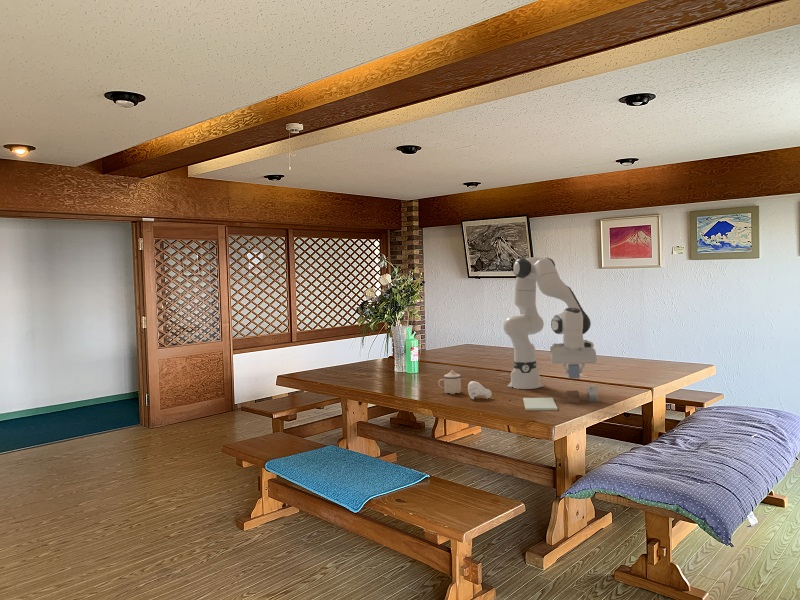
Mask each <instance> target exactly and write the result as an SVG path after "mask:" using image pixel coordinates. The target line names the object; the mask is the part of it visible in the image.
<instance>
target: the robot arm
mask: <svg viewBox="0 0 800 600" xmlns="http://www.w3.org/2000/svg"><path fill="white" fill-rule="evenodd" d="M512 267H513V269H512V271H513V274H514V275H515V276H516V279H515V284H514V285H515V286H514V301H513V302H514V305H515V306H516V307H517V308H518V309H519V313H520V314H519V315H513V316H511V317H508V318H506V319H505V320H504V322H503V331H504V333H505V335H507V336H508V337H509V339H510V341H511V342H512V345H513V346H512V347H513V353H514V354H513V355H514V358H513V359H514V360H513V370H512V371H511V373H510V383H508V384H507V388H512V387H513V389H517V390H533V389H538V388H543V387H544V384H542V383H541V381H540V380H541V379H540V378H541V377H540V371H539V370H538V369H537V360H536V348H535V345H534V344H533V343H532V342H531V341H530V339H529V335H530V336H531V335H535V334H538V333H541V331H543V329H544V327H545V326H544V325H545V324H544V320H543V318H542V316H540V314H539V313H538V309H537V301H536V300H537V298H536V297H537V288H539V291H541V293H542V294H543V295H545V296H547V297H551V298H554V299H557V300H560V301H562V302H564V303H565V304H566V306H567V308H565V309H564V310H563V311H562V312H561V313H559V314H555V315H554V316H553V317H552V319H551V321H550V326H551V331H553V333H555V334H556V335H563V337H562V339H563V342H561V343H553V344H551V345H550V347H549V349H550V351H549V352H550V353H551V355H550V361H551V364H553V365H554V364H556V365H557V364H559V365H560V364H562V367H563V369H564V371H565V372H564V373H565V374H568V373H569V369H568V367H567V365H568V364H580V366H581V367H579V372H580V374H582V373H583V369H584V368H585V364H596V363H597V361H598V359H597V352H596V351H597V350H596V349H595V348H594V345H595V344H594V343H593V341H590V340H587V339H584V335H585V334H586V333H588V331H589V330H590V328H591V326H592V325H591V324H592V323H591V320H590V317H589V316H588V314H587V313H586V312H585V311H584V309H583V307H582V305H581V304H580V301H579V300H578V298H577V297H576V295H575V293H574V291H573V290H572V289H571V287H570V286H568V285H567V284H565V283H564V282H563V280H562V279H561V277H560V274H559V272H558V270H557V268H556V263H555V261H554V260H553V259H552V258H549V257H542V256H541V257H540V256H537V257H536V256H533V257H520V258H517V259H515V261H514V262H513V266H512ZM537 286H538V287H537Z"/></svg>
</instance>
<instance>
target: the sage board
mask: <svg viewBox="0 0 800 600" xmlns="http://www.w3.org/2000/svg"><path fill="white" fill-rule="evenodd" d="M522 401H523V404H524V408H525V411H558V406H557V404H556V402H555V400H554V398H553V397H523V398H522Z"/></svg>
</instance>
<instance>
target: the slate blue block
mask: <svg viewBox="0 0 800 600" xmlns="http://www.w3.org/2000/svg"><path fill="white" fill-rule="evenodd" d="M567 369H569V373H567V375H568V378H569V379H573V380H575V379H580V376H581V375H580V374H581V373H580V372H579V369H580V364H579V363H576V364H567ZM569 379H568V380H569Z"/></svg>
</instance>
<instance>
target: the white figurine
mask: <svg viewBox="0 0 800 600" xmlns="http://www.w3.org/2000/svg"><path fill="white" fill-rule="evenodd" d="M467 393H468V395H469V397H470V399H472V400H475V398H476V397H481V396H482V397H483V396H484V397H485V399H486V400H488V398H489V399H490V398H491V396H492V394H493V393H492V390H490V389H487V388H486V387H484V386H483V385H482V384H481V383H480V382H478V381H473V380H472V381H469V383H468V384H467Z"/></svg>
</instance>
